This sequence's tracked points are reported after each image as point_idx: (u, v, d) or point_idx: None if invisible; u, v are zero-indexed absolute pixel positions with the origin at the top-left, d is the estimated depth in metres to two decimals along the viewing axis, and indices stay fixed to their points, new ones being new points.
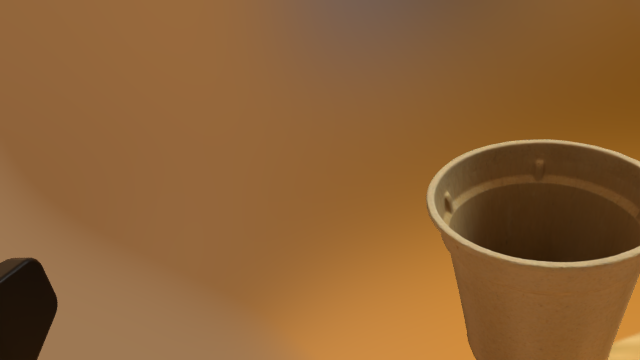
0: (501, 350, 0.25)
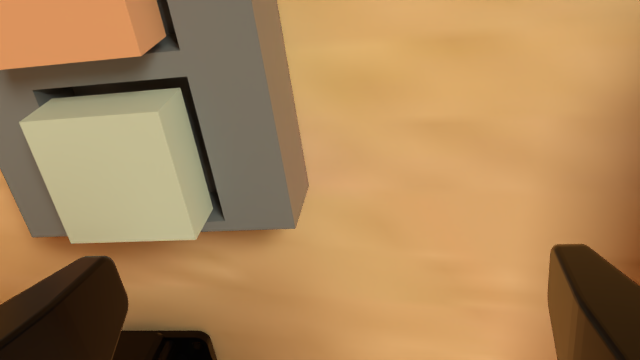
0: None
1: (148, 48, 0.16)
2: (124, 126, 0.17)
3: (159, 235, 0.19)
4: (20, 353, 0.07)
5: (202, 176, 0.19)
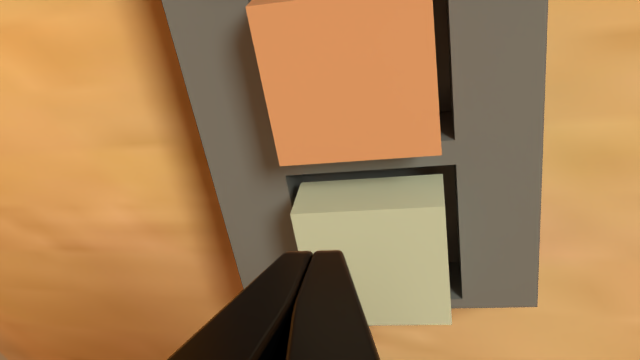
0: None
1: None
2: (404, 219, 0.16)
3: (413, 320, 0.18)
4: (272, 356, 0.06)
5: None
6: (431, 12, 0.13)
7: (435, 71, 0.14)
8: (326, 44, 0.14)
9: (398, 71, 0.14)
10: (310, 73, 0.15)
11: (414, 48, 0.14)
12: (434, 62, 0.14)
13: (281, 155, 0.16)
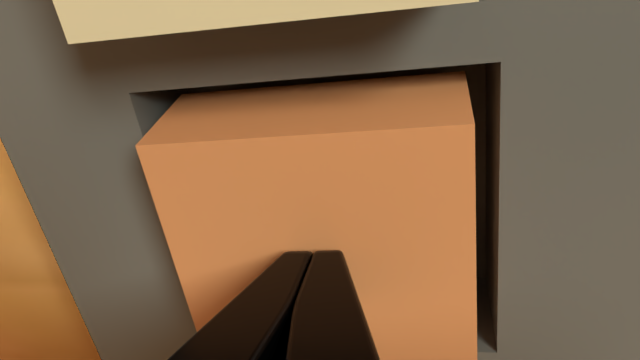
0: None
1: None
2: None
3: None
4: (272, 356, 0.06)
5: None
6: (471, 172, 0.07)
7: (473, 263, 0.08)
8: (281, 211, 0.08)
9: (407, 259, 0.08)
10: (254, 253, 0.08)
11: (437, 226, 0.08)
12: (472, 250, 0.08)
13: None
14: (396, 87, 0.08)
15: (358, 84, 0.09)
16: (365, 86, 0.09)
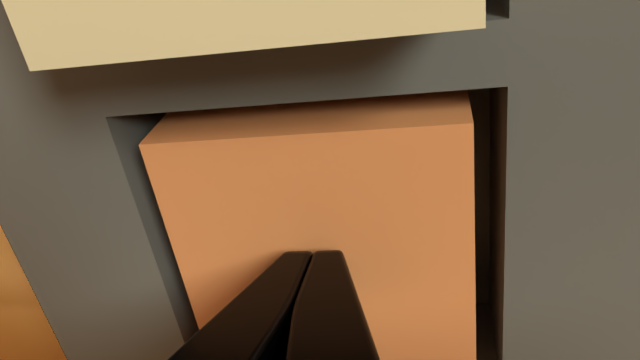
0: None
1: None
2: None
3: None
4: (272, 356, 0.06)
5: None
6: (470, 170, 0.07)
7: (472, 260, 0.08)
8: (282, 209, 0.08)
9: (407, 256, 0.08)
10: (256, 251, 0.09)
11: (437, 224, 0.08)
12: (471, 248, 0.08)
13: None
14: None
15: None
16: None
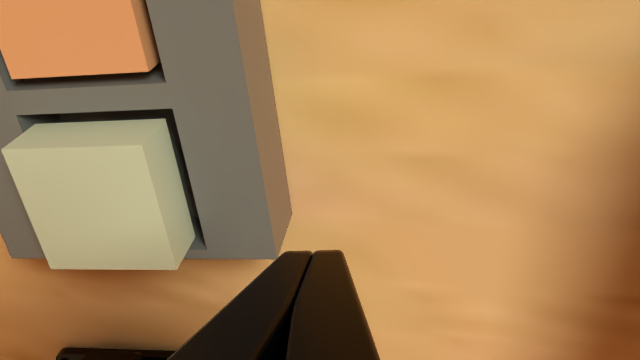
0: None
1: (155, 64, 0.17)
2: (108, 158, 0.17)
3: (140, 264, 0.19)
4: (272, 356, 0.06)
5: (185, 205, 0.19)
6: None
7: None
8: None
9: None
10: None
11: None
12: None
13: (11, 68, 0.17)
14: None
15: None
16: None
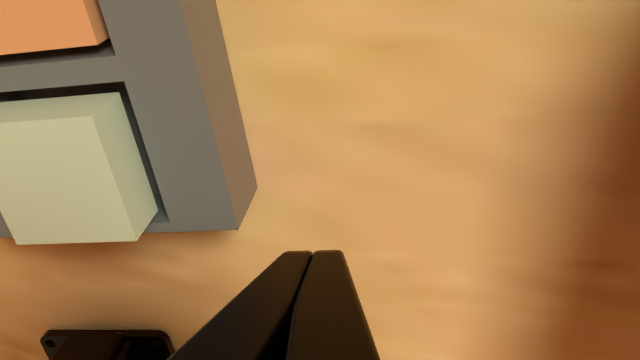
0: None
1: (105, 38, 0.18)
2: (60, 130, 0.17)
3: (101, 237, 0.19)
4: (272, 356, 0.06)
5: (145, 178, 0.20)
6: None
7: None
8: None
9: None
10: None
11: None
12: None
13: None
14: None
15: None
16: None
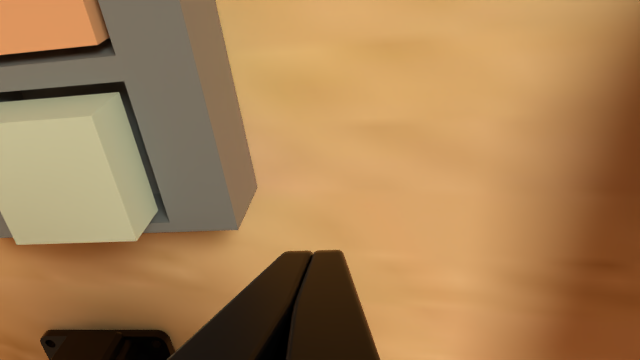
0: None
1: (105, 38, 0.18)
2: (60, 130, 0.17)
3: (101, 237, 0.19)
4: (272, 356, 0.06)
5: (145, 178, 0.20)
6: None
7: None
8: None
9: None
10: None
11: None
12: None
13: None
14: None
15: None
16: None
